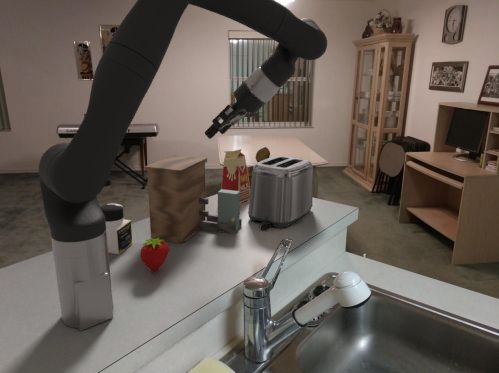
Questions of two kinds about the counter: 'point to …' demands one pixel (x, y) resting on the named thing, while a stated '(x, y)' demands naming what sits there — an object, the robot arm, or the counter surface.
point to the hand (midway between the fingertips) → (213, 133)
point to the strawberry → (154, 254)
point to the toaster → (280, 191)
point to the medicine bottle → (116, 228)
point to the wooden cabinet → (180, 199)
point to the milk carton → (236, 174)
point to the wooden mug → (258, 160)
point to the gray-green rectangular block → (229, 207)
